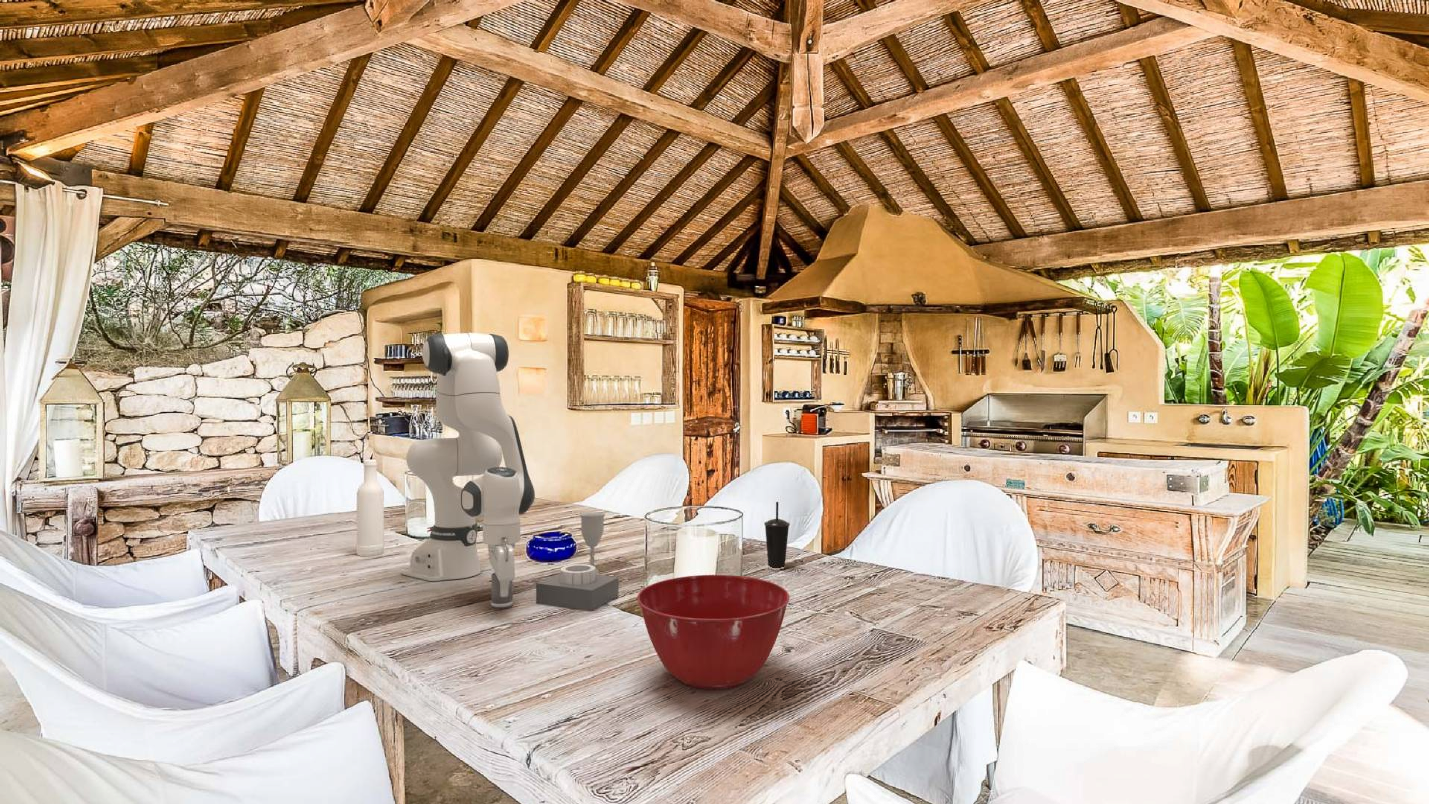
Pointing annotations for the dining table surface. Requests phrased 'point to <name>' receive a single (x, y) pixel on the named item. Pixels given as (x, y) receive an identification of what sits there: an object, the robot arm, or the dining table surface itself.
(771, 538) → the drinking cup
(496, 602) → the lens
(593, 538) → the chalice
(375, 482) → the bottle
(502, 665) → the dining table surface
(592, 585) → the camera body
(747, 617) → the mixing bowl
